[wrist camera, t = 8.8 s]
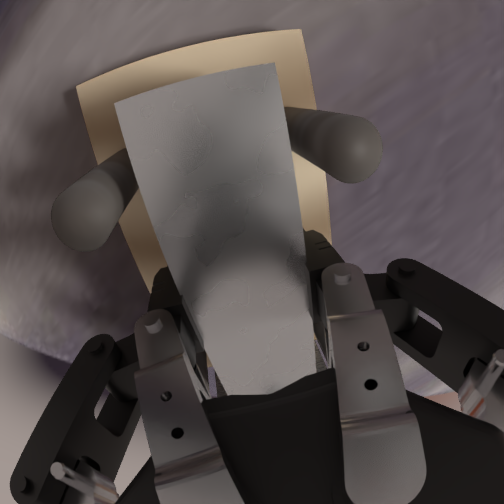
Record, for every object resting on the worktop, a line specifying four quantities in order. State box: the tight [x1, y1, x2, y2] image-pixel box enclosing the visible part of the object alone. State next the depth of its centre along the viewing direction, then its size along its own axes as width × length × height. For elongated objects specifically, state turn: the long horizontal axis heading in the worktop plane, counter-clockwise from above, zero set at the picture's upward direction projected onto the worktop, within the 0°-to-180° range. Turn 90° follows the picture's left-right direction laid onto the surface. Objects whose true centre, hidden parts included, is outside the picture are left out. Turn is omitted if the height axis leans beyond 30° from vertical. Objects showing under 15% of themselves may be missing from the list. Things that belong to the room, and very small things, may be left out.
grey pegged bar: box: [114, 62, 327, 397], centre depth 11 cm, size 18×6×6 cm, turn 11°
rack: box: [51, 29, 383, 391], centre depth 12 cm, size 18×10×7 cm, turn 11°
